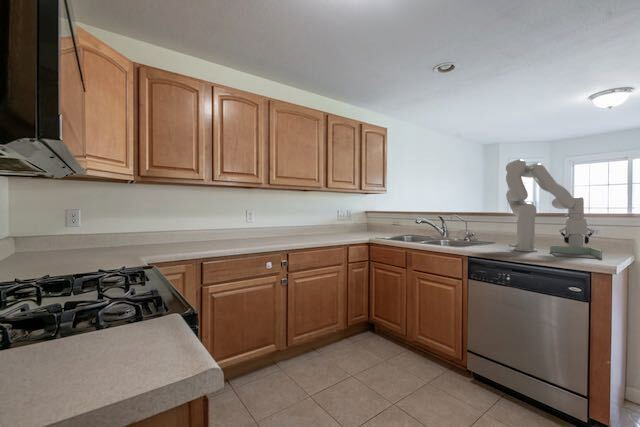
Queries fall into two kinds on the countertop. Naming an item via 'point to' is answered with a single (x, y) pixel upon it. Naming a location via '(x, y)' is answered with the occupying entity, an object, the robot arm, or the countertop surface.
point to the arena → (576, 252)
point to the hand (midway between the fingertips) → (576, 243)
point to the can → (575, 240)
